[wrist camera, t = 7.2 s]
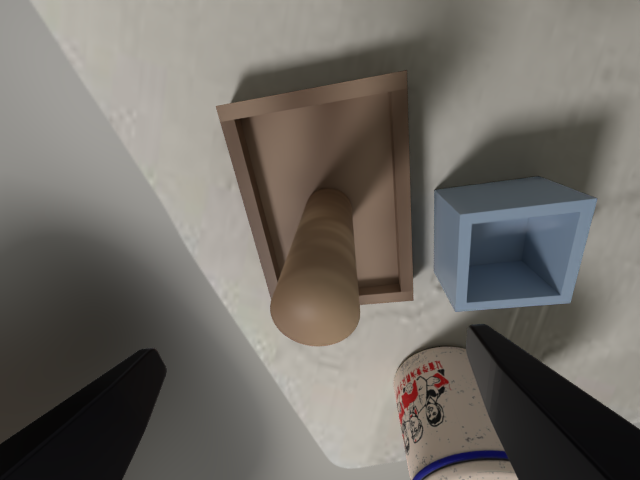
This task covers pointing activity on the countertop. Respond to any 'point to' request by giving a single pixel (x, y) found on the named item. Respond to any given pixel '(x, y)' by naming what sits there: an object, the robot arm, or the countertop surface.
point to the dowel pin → (319, 274)
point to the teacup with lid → (447, 420)
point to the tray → (329, 173)
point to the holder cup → (510, 242)
